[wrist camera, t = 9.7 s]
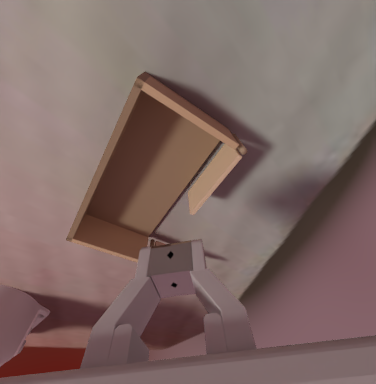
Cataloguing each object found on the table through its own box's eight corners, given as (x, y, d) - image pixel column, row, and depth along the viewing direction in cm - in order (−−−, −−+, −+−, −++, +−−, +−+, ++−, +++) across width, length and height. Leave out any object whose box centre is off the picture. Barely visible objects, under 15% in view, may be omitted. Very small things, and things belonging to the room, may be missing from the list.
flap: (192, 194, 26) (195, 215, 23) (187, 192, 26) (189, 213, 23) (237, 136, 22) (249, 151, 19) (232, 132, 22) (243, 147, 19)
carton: (146, 236, 31) (143, 264, 27) (81, 212, 28) (65, 240, 24) (227, 127, 22) (239, 144, 18) (144, 71, 19) (137, 77, 15)
